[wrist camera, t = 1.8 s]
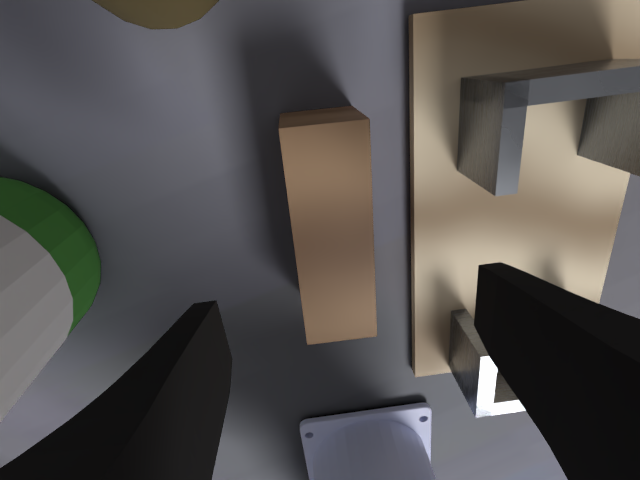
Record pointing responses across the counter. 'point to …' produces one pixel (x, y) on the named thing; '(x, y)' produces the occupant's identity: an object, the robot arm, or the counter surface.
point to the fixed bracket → (477, 370)
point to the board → (535, 170)
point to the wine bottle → (39, 282)
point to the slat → (331, 220)
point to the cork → (158, 11)
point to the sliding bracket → (541, 88)
